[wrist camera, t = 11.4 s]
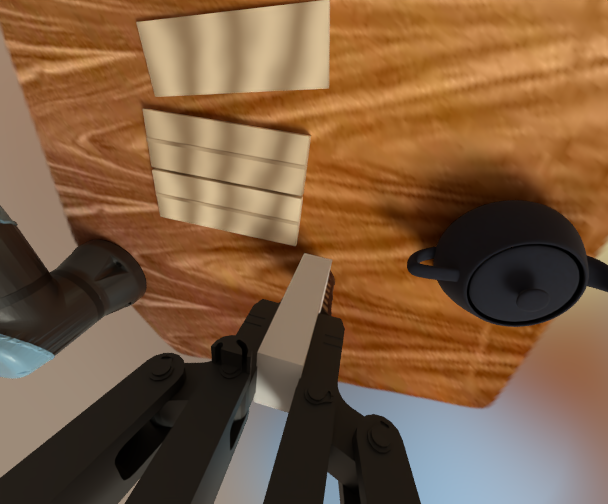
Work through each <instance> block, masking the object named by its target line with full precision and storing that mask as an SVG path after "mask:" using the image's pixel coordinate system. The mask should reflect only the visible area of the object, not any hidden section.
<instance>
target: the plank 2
mask: <svg viewBox="0 0 608 504" xmlns="http://www.w3.org/2000/svg"><path fill="white" fill-rule="evenodd" d="M152 173H153V179H154V184H155V190H156V196H157V200H158V206H159V211H160V217H165V218H170V219H174V220H179V221H183V222H188V223H192V224H197V225H201V226H206V227H210V228H215V229H220V230H224V231H229V232H233V233H238V234H242V235H247V236H251V237H256V238H261V239H265V240H270V241H274V242H279V243H283V244H288V245H292V246H296V245H297V241H298V233H299V225H300V217H301V209H302V201H303V196H299V195H293V194H288V193H283V192H278V191H273V190H268V189H263V188H258V187H252V186H247V185H242V184H237V183H232V182H227V181H222V180H216V179H211V178H206V177H201V176H196V175H191V174H186V173H181V172H175V171H170V170H165V169H160V168H155V169H153V170H152Z"/></svg>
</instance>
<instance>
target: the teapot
mask: <svg viewBox="0 0 608 504" xmlns="http://www.w3.org/2000/svg"><path fill="white" fill-rule="evenodd" d="M510 247H513V248H510ZM507 248H510V249H507ZM504 249H507V250H504ZM502 250H504V251H502ZM500 251H502V252H500ZM498 252H499V253H498ZM496 253H497V254H496ZM494 254H495V255H494ZM492 255H494V256H492ZM490 256H492V257H490ZM489 257H490V258H489ZM487 258H489V259H487ZM428 259H434V260H433V265H434V266H429V265H424V264H420V262H422V261H425V260H428ZM486 259H487V260H486ZM485 260H486V261H485ZM484 261H485V262H484ZM482 262H484V263H483V264H481V263H482ZM480 264H481V265H480ZM407 269H408V271H409V272H410V273H411V274H412V275H415V276H418V277H422V278H428V279H435V280H437V281H438V283H439V285H440V286H441V288H442V289H443V291H444V292H445V293H446V294H447V295H448V296H449V297H450V298H451V299H452V300H453V301H454V302H455V303H456V304H458V305H459V306H460V307H462V308H463V309H465V310H466V311H468V312H470V313H471V314H473V315H475V316H477V317H478V318H480V319H482V320H484V321H487V322H489V323H493V324H496V325H502V326H511V327H520V326H529V325H535V324H539V323H543V322H546V321H548V320H551V319H553V318H555V317H557V316H559V315H561V314H562V313H564V312H566V311H567V310H568V309H570V308H571V307H572V306H573V305H574V304H575V303H576V302H577V301H578V300H579V299H580V297H581V296H582V294H583V293H584V291H585V289H586V286H589V287H593V288H596V289H599V290H603V291H606V292H608V265H607V264H605V263H603V262H601V261H600V260H597V259H595V258H593V257H590V256H587V255H586V251H585V248H584V245H583V242H582V240H581V237H580V236H579V234H578V232H577V230H576V229H575V228H574V226H573V225H572V224H571V223H570V222H569V221H568V220H567V219H566V218H565V217H564V216H563V215H561V214H560V213H559V212H557V211H555V210H554V209H552V208H550V207H547V206H545V205H542V204H539V203H535V202H530V201H521V200H509V201H499V202H494V203H490V204H486V205H483V206H480V207H478V208H475V209H473V210H471V211H469V212H467V213H466V214H464V215H463V216H461V217H460V218H458V219H457V220H456V221H455V222H453V223H452V224H451V225H450V226H449V227H448V228H447V230H446V231H445V232H444V233H443V235H442V236H441V238H440V240H439V242H438V244H437V246H436V247H431V248H426V249H422V250H420V251H417V252H415V253H414V254H412V255H411V256H410V257H409V259H408V262H407Z"/></svg>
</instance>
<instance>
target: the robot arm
mask: <svg viewBox="0 0 608 504" xmlns="http://www.w3.org/2000/svg"><path fill="white" fill-rule="evenodd" d="M331 263H332V260H331V259H327V258H323V257H318V256H314V255H310V254H306V253H304V255H303V257H302V259H301V261H300V263H299V265H298V267H297V269H296V272H295V274H294V276H293V278H292V280H291V282H290V284H289V286H288V288H287V291H286V293H285V295H284V297H283V299H282V301H281V303H276V302H272V301H269V300H265V299H262V300H261V301H259V302H258V303H256V304H255V305H254V306H253V307H252V309H251V311H250V312H249V315H248V316H247V317H246V319H245V321H244V323H243V324H242V326H241V327H240V329H239V331H238V332H237V334H236V336H235V335H230V336H225V337H222V338H220V339H218V340H217V341H216V342H215V343H214V344H213V345H212V346H211V353H212V361H210V362H205V363H184V360H183V359H182V358H181V357H180V356H179V355H177V354H174V353H163V354H160V355H156V356H154V357H152V358H151V359H149V360H147V361H146V362H145V363H144V364H142V365H141V366H140V367H138V368H137V369H136V370H135V371H134V372H132V373H131V374H130V375H128V376H127V377H126V378H125V379H123V380H122V381H121V382H120V383H118V384H117V385H116V386H115V387H114V388H112V389H111V390H110V391H109V392H107V393H106V394H105V395H103V396H102V397H101V398H100V399H98V400H97V401H96V402H95V403H93V404H92V405H91V406H90V407H88V408H87V409H86V410H85V411H83V412H82V413H81V414H80V415H79V416H77V417H76V418H75V419H73V420H72V421H71V422H70V423H68V424H67V425H66V426H65V427H63V428H62V429H61V430H60V431H58V432H57V433H56V434H55V435H54V436H52V437H51V438H50V439H48V440H47V441H46V442H45V443H43V444H42V445H41V446H40V447H39V448H37V449H36V450H35V451H33V452H32V453H31V454H30V455H28V456H27V457H26V458H25V459H23V460H22V461H21V462H20V463H18V464H17V465H16V466H15V467H13V468H12V469H11V470H10V471H8V472H7V473H6V474H5V475H3V476H2V477H1V478H0V504H118V503H119V502H120V501H121V499H122V498H123V497H124V496H125V495H126V493H128V491H129V490H130V489H131V488H132V487H133V486H134V484H135V483H136V482H137V481H138V480H139V479H140V480H139V481H138V483H137V485H136V486H135V488H134V489H133V491H132V493H131V494H130V496H129V497H128V499H127V501H126V502H125V504H214V501H215V499H216V496H217V494H218V491H219V489H220V486H221V483H222V481H223V479H224V476H225V474H226V471H227V469H228V466H229V464H230V461H231V459H232V456H233V454H234V451H235V449H236V446H237V444H238V441H239V439H240V436H241V434H242V431H243V429H244V426H245V424H246V421H247V419H248V414H249V407H250V405H251V402H252V400H253V397H254V402H256V403H259V404H262V405H265V406H269V407H272V408H275V409H278V410H281V411H284V412H288V413H289V414H288V417H287V421H286V424H285V428H284V432H283V435H282V439H281V442H280V446H279V449H278V453H277V456H276V460H275V463H274V467H273V471H272V474H271V478H270V481H269V484H268V488H267V492H266V496H265V499H264V502H263V504H323V500H324V493H325V486H326V478H327V472H328V473H330V474H331V475H332V476H333V477H335V478H336V479H337V480H338V484H339V493H340V504H421V502H420V499H419V495H418V492H417V489H416V485H415V482H414V478H413V475H412V471H411V468H410V464H409V461H408V457H407V454H406V450H405V447H404V444H403V440H402V438H401V436H400V433H399V431H398V429H397V428H396V427H395V426H394V425H393V424H392V422H390V421H389V420H387V419H386V418H384V417H382V416H379V415H375V414H372V415H366V416H365V417H364V416H363V415H361V414H360V413H358V412H357V411H356V410H354V409H352V408H351V407H350V406H349V405H348V404H347V403H346V402H345V401H344V400H343V399H342V397H341V395H340V393H339V390H338V374H339V367H340V359H341V352H342V345H343V337H344V330H345V328H344V326H343V323H342V320H341V319H339V318H336V317H332V316H328V315H324V314H321V313H320V311H321V307H322V303H323V299H324V295H325V290H326V286H327V281H328V277H329V272H330V268H331ZM145 291H146V279H145V276H144V273H143V271H142V269H141V268H140V266H139V265H138V263H137V262H136V261H135V260H134V258H133V257H132V256H131V255H130V254H128V253H127V252H126V251H125V250H123V249H122V248H121V247H119V246H117V245H115V244H113V243H111V242H108V241H105V240H91V241H88V242H86V243H84V244H82V245H80V246H79V247H77V248H76V249H75V250H74V251H73V252H72V254H71V255H70V256H69V257H68V258H67V259H66V260H64V261H63V262H62V263H61V264H60V266H58V267H57V268H56V269H55V270H53V271H52V272H50V273H49V271H48V270H47V268H46V267H45V266H44V264H43V263H42V261H41V260H40V258H39V257H38V256H37V254H36V253H35V252H34V250H33V248H32V247H31V246H30V244H29V243H28V241H27V240H26V239H25V237H24V236H23V234H22V233H21V231H20V230H19V229H18V227H17V223H16V222H15V221H12V220H11V218H10V217H9V216H8V214H7V213H6V212H5V211H4V209H3V208H2V207H1V206H0V377H5V378H20V377H24V376H27V375H29V374H31V373H32V372H34V371H35V370H36V369H38V368H39V367H40V366H42V365H43V364H45V363H46V362H48V361H49V360H52V359H53V358H54V357H55V355H56V354H58V353H59V352H60V351H61V350H63V349H64V348H65V347H67V346H68V345H69V344H70V343H71V342H73V341H74V340H75V339H76V338H78V337H79V336H80V335H81V334H83V333H84V332H85V331H86V330H87V329H89V328H90V327H91V326H92V325H94V324H95V323H96V322H97V321H99V320H100V319H101V318H102V317H104V316H105V315H108V314H110V313H113V312H115V311H118V310H120V309H122V308H124V307H128V306H130V305H132V304H134V303H135V302H136V301H137V300H139V299H140V298H141V297H142V296H143V295H144V293H145Z"/></svg>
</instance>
